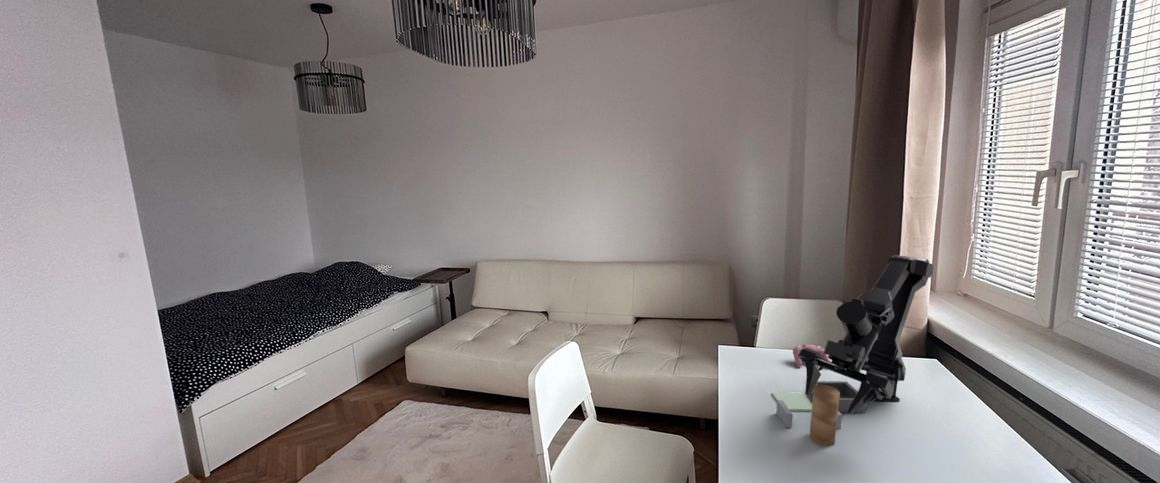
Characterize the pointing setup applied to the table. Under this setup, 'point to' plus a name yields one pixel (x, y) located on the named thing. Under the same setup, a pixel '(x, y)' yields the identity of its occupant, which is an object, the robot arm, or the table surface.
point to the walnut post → (824, 415)
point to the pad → (794, 400)
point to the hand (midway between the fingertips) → (826, 403)
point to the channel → (787, 415)
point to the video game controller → (811, 347)
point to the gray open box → (843, 395)
